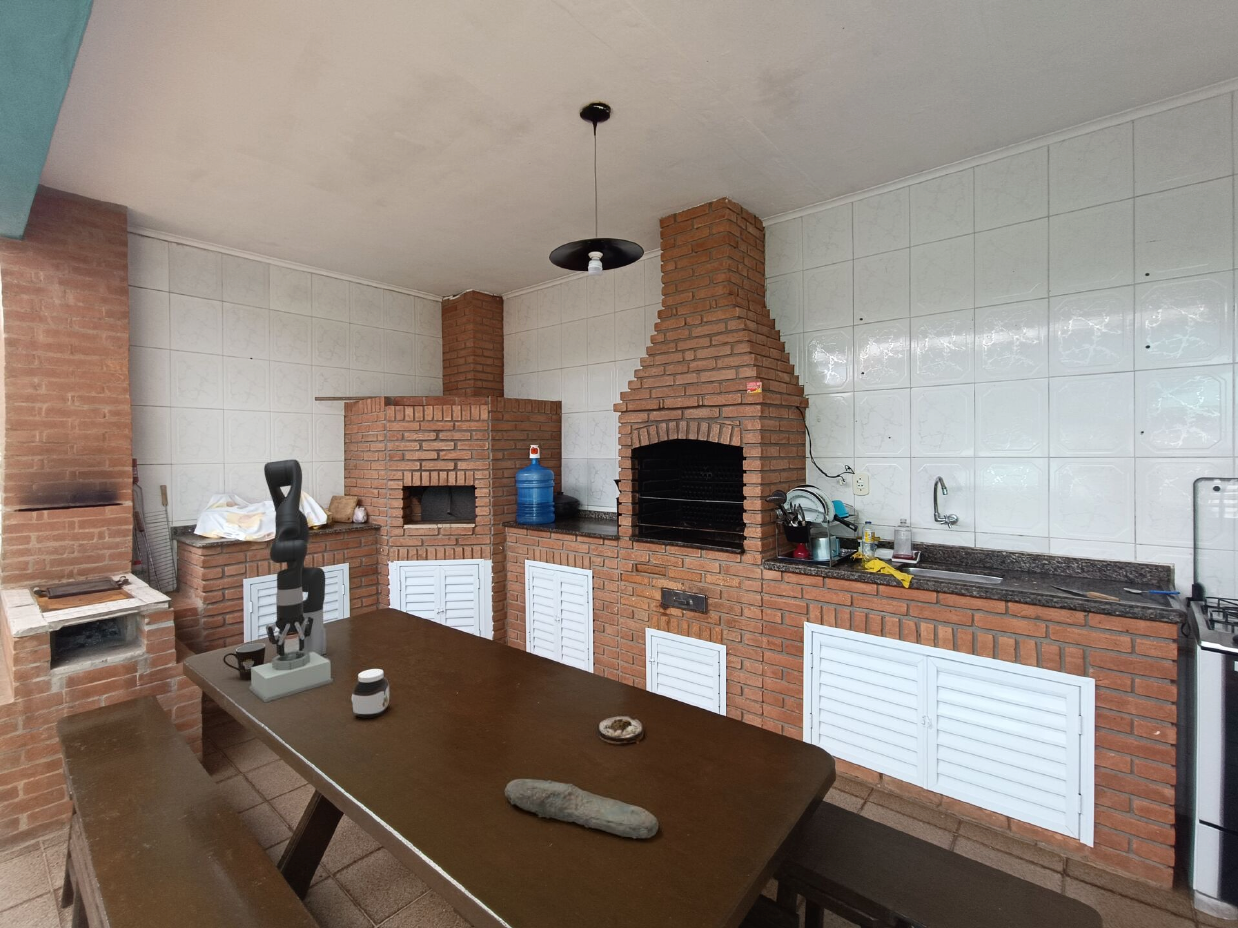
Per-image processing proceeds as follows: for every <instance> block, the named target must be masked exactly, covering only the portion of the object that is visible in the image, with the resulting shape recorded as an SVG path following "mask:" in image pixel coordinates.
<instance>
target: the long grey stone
mask: <svg viewBox="0 0 1238 928" xmlns="http://www.w3.org/2000/svg"><path fill="white" fill-rule="evenodd" d="M504 795H505V797H506V798H507V800H508V802H510V804H511V805H516V806H517V807H519V808H520V809H523V810H524V811H528V812H531V813H535V814H536V815H538V818H542V817H545V818H546V819H550V818H553V819H555V820H558V821H563V822H566V823H567V822H568V823H572V822H574V823H576V824H579V825H583V826H584V827H585V828H592V829H597V830H600V831H604V832H606V833H610V834H612V835H616V836H620V837H622V838H623V837H625V838H633V839H634V840H635V839H649V838H652V837H653V836H655V835H656V833H657V832H658V830H659V822H658V819H657V817H655V816H654V814H652V813H651V812H650V811H648V810H646V809H645V808H642V807H640V806H637V805H633V804H629V803H625V802H623V801H621V800H617V799H612V798H611V797H605V796H601V795H598V794H594V793H591V792H590V791H586V790H583V789H580V788H579V787H578V786H575V785H574V784H572V783H564V782H557V781H553V780H550V779H549V780H544V779H532V778H528V779H527V778H517V779H514V780H510V782H509V783H507V784H506V787H505V788H504Z"/></svg>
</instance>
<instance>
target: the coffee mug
mask: <svg viewBox="0 0 1238 928" xmlns="http://www.w3.org/2000/svg"><path fill="white" fill-rule="evenodd" d="M266 647H267V645H266V643H260V642H259V643H249V644H244V645H242V646H239V647H237V648H236V649H235V653H233V652H229V653H227V654H225V655H223V660H222V661H223V663H224V664H225V665H226V666H228V667H229V668H232V669H233V670H236V671H238V672H239V679H240V680H241V681H251V667H255V666H259V665H263V664H265V655H266ZM228 656H233V657H234V658H235V659H236V660H237V666H238V667H236V666H234V665H231V664H229V662H227V661H226V658H227V657H228Z"/></svg>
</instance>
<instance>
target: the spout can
mask: <svg viewBox="0 0 1238 928" xmlns="http://www.w3.org/2000/svg"><path fill="white" fill-rule="evenodd" d="M282 644H283V656H282V660H284V661H289V660H294V659H297V658H299V657H300V634H299V633H297V632H291V633H288V634H286V636H285V638H284V640H283V643H282Z"/></svg>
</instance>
